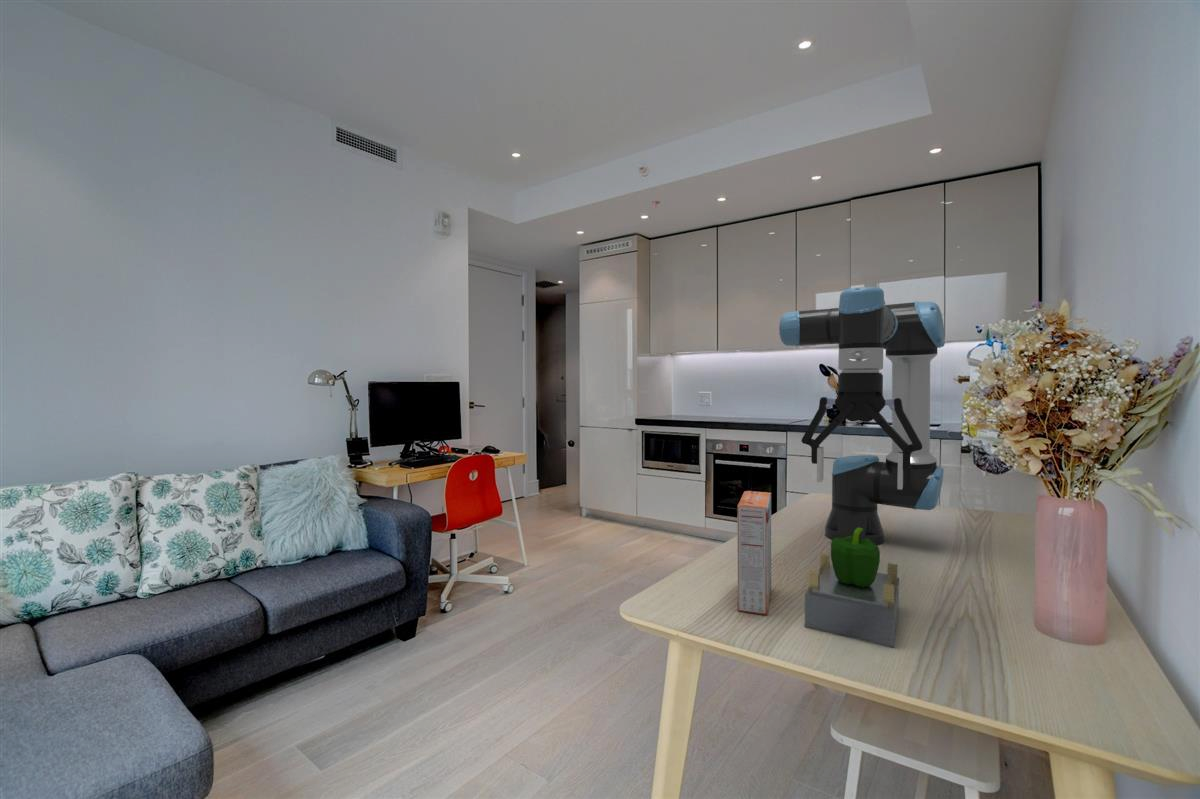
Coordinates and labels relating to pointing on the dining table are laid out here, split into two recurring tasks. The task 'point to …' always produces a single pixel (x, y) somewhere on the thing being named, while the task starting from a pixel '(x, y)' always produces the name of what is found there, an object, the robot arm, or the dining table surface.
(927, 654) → the dining table surface
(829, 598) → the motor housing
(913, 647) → the dining table surface
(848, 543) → the bell pepper
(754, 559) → the cracker box
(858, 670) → the dining table surface
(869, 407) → the robot arm
